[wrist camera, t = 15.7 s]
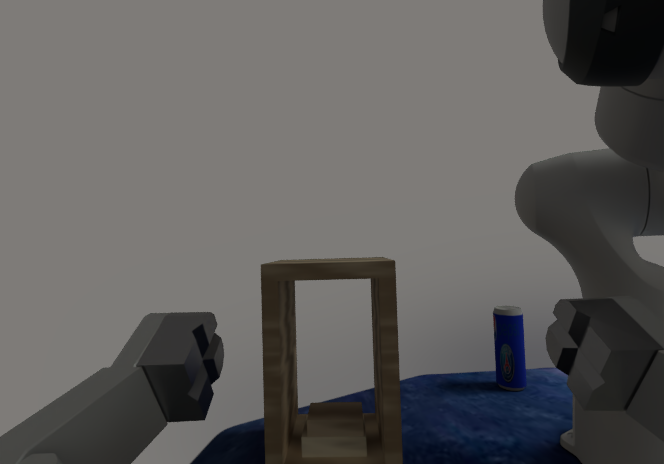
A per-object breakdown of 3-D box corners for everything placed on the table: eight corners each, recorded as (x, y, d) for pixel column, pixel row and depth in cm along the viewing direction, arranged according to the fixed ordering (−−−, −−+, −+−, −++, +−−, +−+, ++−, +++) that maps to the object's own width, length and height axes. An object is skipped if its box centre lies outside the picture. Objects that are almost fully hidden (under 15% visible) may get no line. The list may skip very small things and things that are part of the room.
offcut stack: (307, 432, 51) (306, 400, 51) (364, 431, 51) (363, 399, 51) (301, 457, 45) (301, 421, 45) (366, 456, 45) (365, 420, 45)
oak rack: (285, 427, 56) (281, 260, 57) (388, 426, 56) (382, 257, 57) (265, 487, 42) (260, 264, 43) (403, 486, 42) (395, 260, 43)
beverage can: (490, 384, 71) (487, 307, 72) (510, 379, 73) (506, 304, 74) (512, 393, 66) (508, 311, 67) (532, 388, 68) (528, 308, 69)
